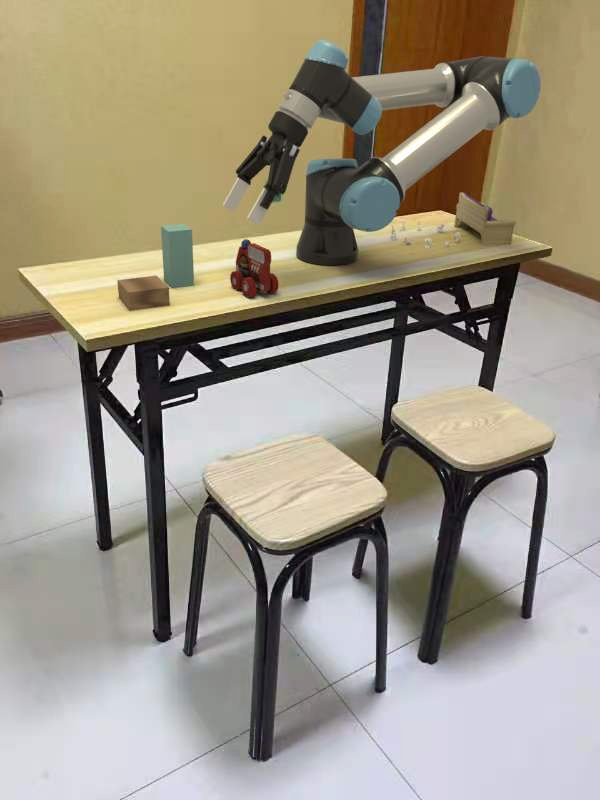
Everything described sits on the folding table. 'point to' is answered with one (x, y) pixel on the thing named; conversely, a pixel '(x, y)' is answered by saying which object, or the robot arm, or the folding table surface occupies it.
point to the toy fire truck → (253, 270)
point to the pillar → (177, 255)
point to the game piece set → (427, 240)
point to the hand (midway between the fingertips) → (239, 215)
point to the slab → (143, 293)
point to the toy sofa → (483, 221)
